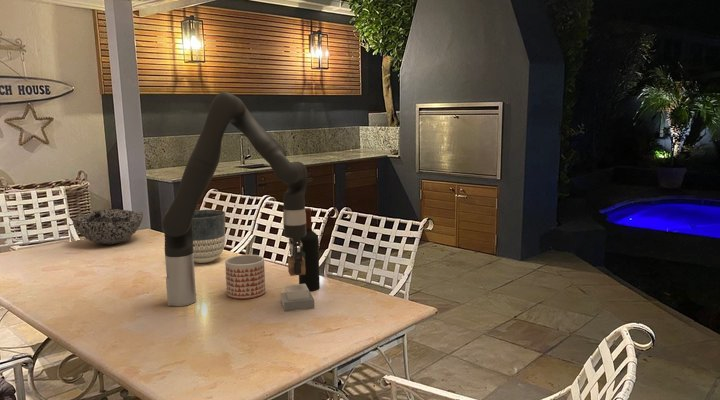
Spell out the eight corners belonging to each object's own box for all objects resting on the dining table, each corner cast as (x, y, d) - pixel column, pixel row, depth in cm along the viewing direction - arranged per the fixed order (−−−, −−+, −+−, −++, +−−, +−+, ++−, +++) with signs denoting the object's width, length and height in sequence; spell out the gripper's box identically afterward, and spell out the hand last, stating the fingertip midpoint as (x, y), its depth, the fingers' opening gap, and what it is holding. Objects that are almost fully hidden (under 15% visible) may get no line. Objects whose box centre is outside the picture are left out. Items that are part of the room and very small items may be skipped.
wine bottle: (316, 291, 198) (314, 211, 193) (296, 290, 200) (294, 210, 195) (321, 285, 206) (320, 207, 201) (302, 284, 207) (300, 206, 202)
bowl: (61, 250, 262) (58, 219, 259) (102, 235, 292) (99, 207, 290) (121, 252, 257) (118, 221, 254) (156, 236, 287) (154, 209, 285)
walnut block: (290, 275, 181) (289, 261, 180) (288, 271, 186) (287, 257, 185) (305, 274, 182) (304, 260, 181) (302, 270, 187) (302, 256, 186)
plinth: (284, 311, 180) (283, 293, 179) (280, 301, 189) (280, 284, 188) (314, 308, 182) (314, 290, 181) (309, 298, 192) (308, 281, 191)
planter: (236, 259, 242) (234, 212, 239) (202, 270, 226) (199, 219, 223) (206, 253, 253) (203, 208, 249) (171, 263, 237) (168, 215, 233)
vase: (247, 284, 207) (245, 252, 205) (273, 291, 199) (272, 257, 197) (218, 295, 196) (217, 260, 194) (245, 302, 188) (243, 266, 186)
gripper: (309, 225, 175) (311, 276, 178) (302, 217, 189) (303, 264, 192) (286, 227, 173) (288, 278, 176) (280, 218, 187) (282, 266, 190)
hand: (296, 271), depth 184 cm, fingers closed on walnut block, 5 cm apart
